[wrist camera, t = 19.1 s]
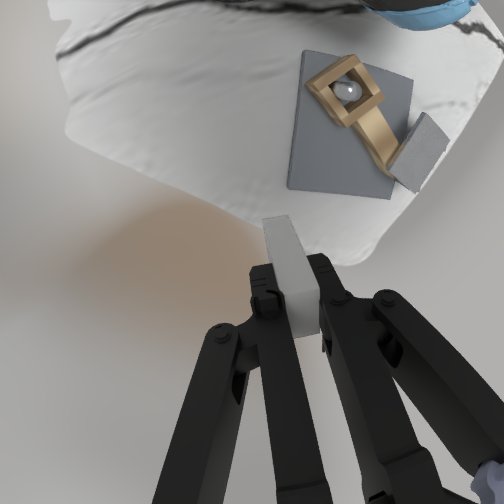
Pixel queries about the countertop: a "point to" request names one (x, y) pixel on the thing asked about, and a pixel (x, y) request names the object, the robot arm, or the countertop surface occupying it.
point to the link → (357, 108)
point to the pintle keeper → (406, 143)
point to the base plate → (342, 136)
